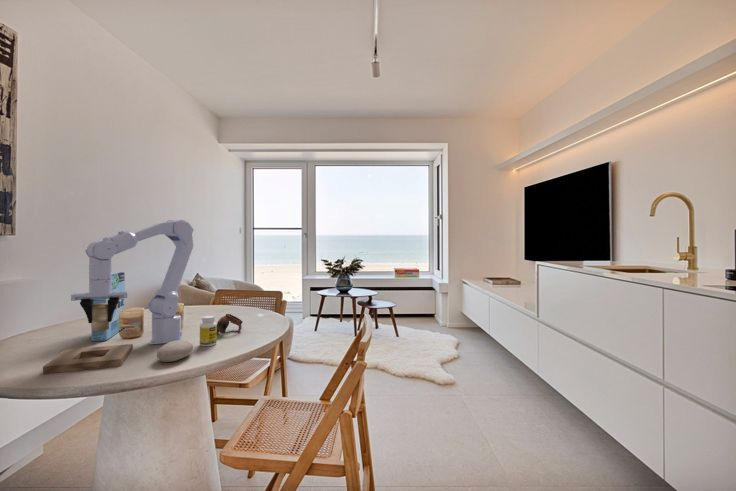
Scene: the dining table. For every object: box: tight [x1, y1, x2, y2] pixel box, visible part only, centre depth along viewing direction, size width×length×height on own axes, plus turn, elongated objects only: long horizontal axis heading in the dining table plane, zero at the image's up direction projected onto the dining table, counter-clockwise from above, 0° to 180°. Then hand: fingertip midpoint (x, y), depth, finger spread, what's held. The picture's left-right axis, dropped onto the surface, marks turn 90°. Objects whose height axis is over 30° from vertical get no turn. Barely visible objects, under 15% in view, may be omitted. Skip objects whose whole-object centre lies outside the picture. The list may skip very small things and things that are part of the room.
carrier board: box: [42, 343, 134, 375], centre depth 111 cm, size 18×16×2 cm
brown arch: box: [216, 313, 243, 335], centre depth 144 cm, size 12×10×8 cm
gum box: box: [90, 271, 126, 342], centre depth 140 cm, size 20×5×23 cm, turn 16°
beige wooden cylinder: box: [91, 303, 109, 332], centre depth 116 cm, size 4×4×8 cm
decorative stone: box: [156, 339, 194, 363], centre depth 114 cm, size 13×9×5 cm
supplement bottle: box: [199, 315, 218, 347], centre depth 128 cm, size 5×5×10 cm
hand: (100, 322), depth 116 cm, fingers closed on beige wooden cylinder, 4 cm apart
